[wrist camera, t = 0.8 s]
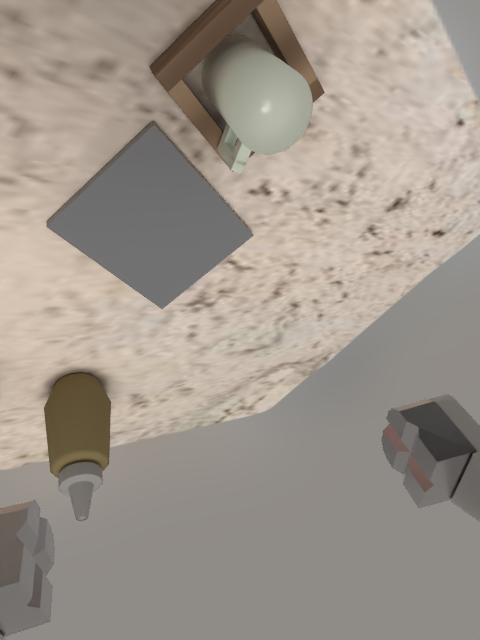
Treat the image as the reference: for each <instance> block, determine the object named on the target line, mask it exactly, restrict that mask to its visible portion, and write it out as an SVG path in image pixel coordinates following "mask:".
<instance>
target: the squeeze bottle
mask: <svg viewBox="0 0 480 640" xmlns="http://www.w3.org/2000/svg"><path fill="white" fill-rule="evenodd" d="M44 412H45V422H46V432H47V442H48V452H49V462H50V471H51V473H52V474H54V475H55V476H56V477H58V478H59V491H60V492H61V493H62V494H64V495H67V496H70V498H71V501H72V505H73V509H74V513H75V516H76V520H78V521H82V520H86V519H87V518H88V514H89V509H90V503H91V498H92V493H93V492H94V491H96V490H97V489H99V488H100V486H101V485H102V482H103V479H102V471H103V470H104V469H105V468H106V467H107V466H108V464H109V449H110V413H111V401H110V399H109V398H108V396H107V394H106V392H105V390H104V389H103V387H102V385H101V383H100V382H99V380H98V379H97V378H96V377H94V376H92V375H90V374H84V373H75V374H70V375H67V376H64V377H62V378H61V379H60V380H58V381H57V382H56V384H55V386H54V388H53V390H52V392H51V394H50V396H49V398H48V401H47V403H46V405H45V407H44Z"/></svg>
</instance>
